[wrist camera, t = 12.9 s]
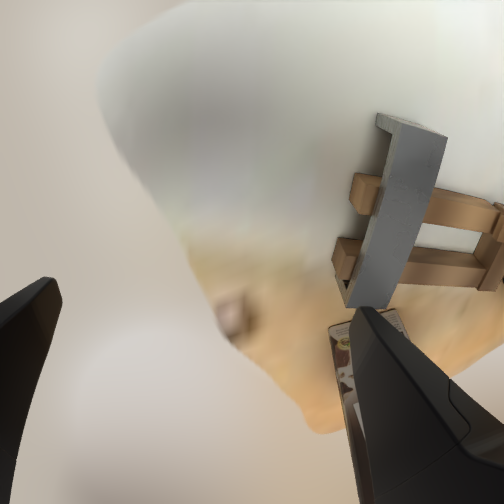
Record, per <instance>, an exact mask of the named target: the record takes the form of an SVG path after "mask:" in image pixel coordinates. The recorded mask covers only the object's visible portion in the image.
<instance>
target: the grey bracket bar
mask: <svg viewBox="0 0 504 504" xmlns="http://www.w3.org/2000/svg"><path fill="white" fill-rule="evenodd" d="M375 125H376V126H378V127H379V128H381V129H383V130H385V131H387V132H389V133H391V134H393V135H392V139H391V143H390V148H389V152H388V156H387V160H386V164H385V168H384V172H383V176H382V179H381V183H380V187H379V190H378V194H377V198H376V201H375V205H374V208H373V212H372V215H371V218H370V222H369V225H368V228H367V231H366V235H365V238H364V241H363V244H362V247H361V250H360V253H359V256H358V259H357V262H356V265H355V268H354V271H353V274H352V277H351V280H342V279H338V276H337V273H336V275H335V278H336V281H337V284H338V287H339V289H340V292H341V295H342V298H343V301H344V304H345V307H346V308H358V307H359V306H371V307H373V308H374V309H386V308H387V306H388V304H389V302H390V299H391V297H392V295H393V293H394V291H395V288H396V286H397V284H398V282H399V279H400V277H401V275H402V272H403V270H404V268H405V265H406V263H407V260H408V258H409V255H410V253H411V250H412V248H413V245H414V243H415V240H416V238H417V235H418V232H419V229H420V227H421V224H422V221H423V218H424V216H425V213H426V210H427V207H428V204H429V201H430V198H431V195H432V192H433V189H434V185H435V182H436V179H437V175H438V172H439V169H440V165H441V162H442V158H443V154H444V151H445V147H446V143H447V139H448V137H446V136H444V135H442V134H439V133H437V132H435V131H433V130H431V129H428V128H426V127H424V126H421V125H419V124H416V123H412V122H409V121H406V120H402V119H399V118H395V117H392V116H388V115H385V114H381V113H377V118H376V123H375Z"/></svg>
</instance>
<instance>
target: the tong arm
mask: <svg viewBox="0 0 504 504" xmlns="http://www.w3.org/2000/svg"><path fill="white" fill-rule="evenodd" d="M381 179H382V177H378V176H372V175H366V174H360V173H355V175H354V179H353V184H352V188H351V193H350V197H349V200H350V202H351V203H352V205H353V206H354V208H355V209H356V211H357V212H358V214H362V215H370V216H371V215H372V212H373V208H374V205H375V201H376V198H377V194H378V190H379V187H380V183H381ZM500 214H501V212H500V211H499V210H497V209H496V208H495V207H494V206H492V205H491V204H490V203H489V202H487V201H486V200H483V199H480V198H476V197H472V196H468V195H464V194H460V193H456V192H451V191H447V190H443V189H438V188H434V189H433V192H432V195H431V198H430V201H429V204H428V207H427V210H426V213H425V216H424V218H423V221H422V223H428V224H434V225H441V226H447V227H454V228H460V229H466V230H472V231H477V232H483V233H489V234H493V232H494V234H493V236H492V237H493V238H494V239H495V240H496V241H498V242H504V215H501V216H500ZM499 216H500V218H499ZM498 219H499V221H498ZM497 222H498V224H497ZM496 224H497V226H496ZM495 227H496V229H495ZM494 229H495V231H494Z"/></svg>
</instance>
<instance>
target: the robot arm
mask: <svg viewBox="0 0 504 504" xmlns="http://www.w3.org/2000/svg"><path fill="white" fill-rule="evenodd" d="M503 283H504V278H503ZM61 308H62V297H61V293H60V291H59V287H58V284H57V281H56V280H55V279H54V278H51V277H42V278H40V279H39V280H37V281H35V282H34V283H32V284H30V285H29V286H27V287H25V288H24V289H22V290H20V291H19V292H17V293H15V294H14V295H12V296H10V297H9V298H7V299H6V300H4V301H3V302H1V303H0V504H9V502H10V495H11V488H12V482H13V477H14V471H15V466H16V459H17V456H18V451H19V447H20V442H21V437H22V434H23V430H24V426H25V422H26V419H27V415H28V412H29V408H30V405H31V402H32V398H33V394H34V392H35V389H36V385H37V382H38V379H39V377H40V374H41V371H42V368H43V365H44V362H45V360H46V357H47V354H48V351H49V348H50V345H51V342H52V338H53V335H54V331H55V328H56V324H57V321H58V317H59V314H60V311H61ZM349 341H350V350H351V360H352V370H353V378H354V383H355V388H356V393H357V398H358V403H359V408H360V413H361V418H362V424H363V429H364V435H365V440H366V446H367V452H368V458H369V464H370V471H371V477H372V484H373V492H374V498H375V504H504V424H502V423H501V422H500V421H499V420H498V419H496V418H495V417H494V416H493V415H491V414H490V413H489V412H488V411H487V410H485V409H484V408H483V407H482V406H480V405H479V404H478V403H477V402H476V401H474V400H473V399H472V398H471V397H470V396H469V395H468V394H467V393H465V392H464V391H463V390H462V389H461V388H460V387H459V386H458V385H457V384H456V383H454V382H453V381H452V379H449V377H448V376H447V375H446V374H445V373H444V372H443V371H442V370H441V369H440V368H439V367H438V366H437V365H436V364H435V363H433V362H432V361H431V360H430V359H429V358H428V357H427V356H426V355H425V354H424V353H423V352H422V351H421V350H419V349H418V348H417V347H416V346H415V345H414V344H413V343H412V342H411V341H410V340H409V339H407V338H406V337H405V336H404V335H403V334H402V333H401V332H400V331H399V330H398V329H396V328H395V327H394V326H393V325H392V324H391V323H390V322H389V321H388V320H386V319H385V318H384V317H383V316H382V315H381V314H380V313H379V312H377V311H376V310H375V309H374V308H373V307H371V306H359V307H358V308H357V309H356V311H355V314H354V316H353V318H352V321H351V323H350V326H349Z"/></svg>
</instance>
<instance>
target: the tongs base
mask: <svg viewBox="0 0 504 504" xmlns="http://www.w3.org/2000/svg"><path fill="white" fill-rule="evenodd" d="M493 206H494V207H495V208H496V209H497V210H499V211H500V212H501V214H500V216H501V215H504V205H503V204H500V203H497V202H495V203H494V205H493ZM500 216H499V218H500ZM498 221H499V219H498ZM497 224H498V222H497ZM497 224H496V226H497ZM495 229H496V227H495ZM495 229H494V231H495ZM493 234H494V232H493ZM493 234H489V233H482V236H481V238H480V240H479V243H478V245H477V247H476V250H475V252H474V254H467V253H460V252H452V251H445V250H437V249H429V248H421V247H413V248H412V250H411V253H410V255H409V258H408V260H407V263H406V265H405V268H404V270H403V272H402V275H401V277H400V279H399V282H398V283H402V284H418V285H436V286H454V287H475V288H477V290H478V291H496V289H497V287H498V285H499V284H500V282H501V280H502V278H503V276H504V242H498V241H496V240H495V239H494V238H493V237H492V236H493ZM362 244H363V240H354V239H345V238H338V239H337V243H336V246H335V250H334V253H333V257H332V263H333V265H334V268H335V271H336V273H337V276H338V279H342V280H351V277H352V274H353V271H354V268H355V265H356V262H357V259H358V256H359V253H360V250H361V247H362Z"/></svg>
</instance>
